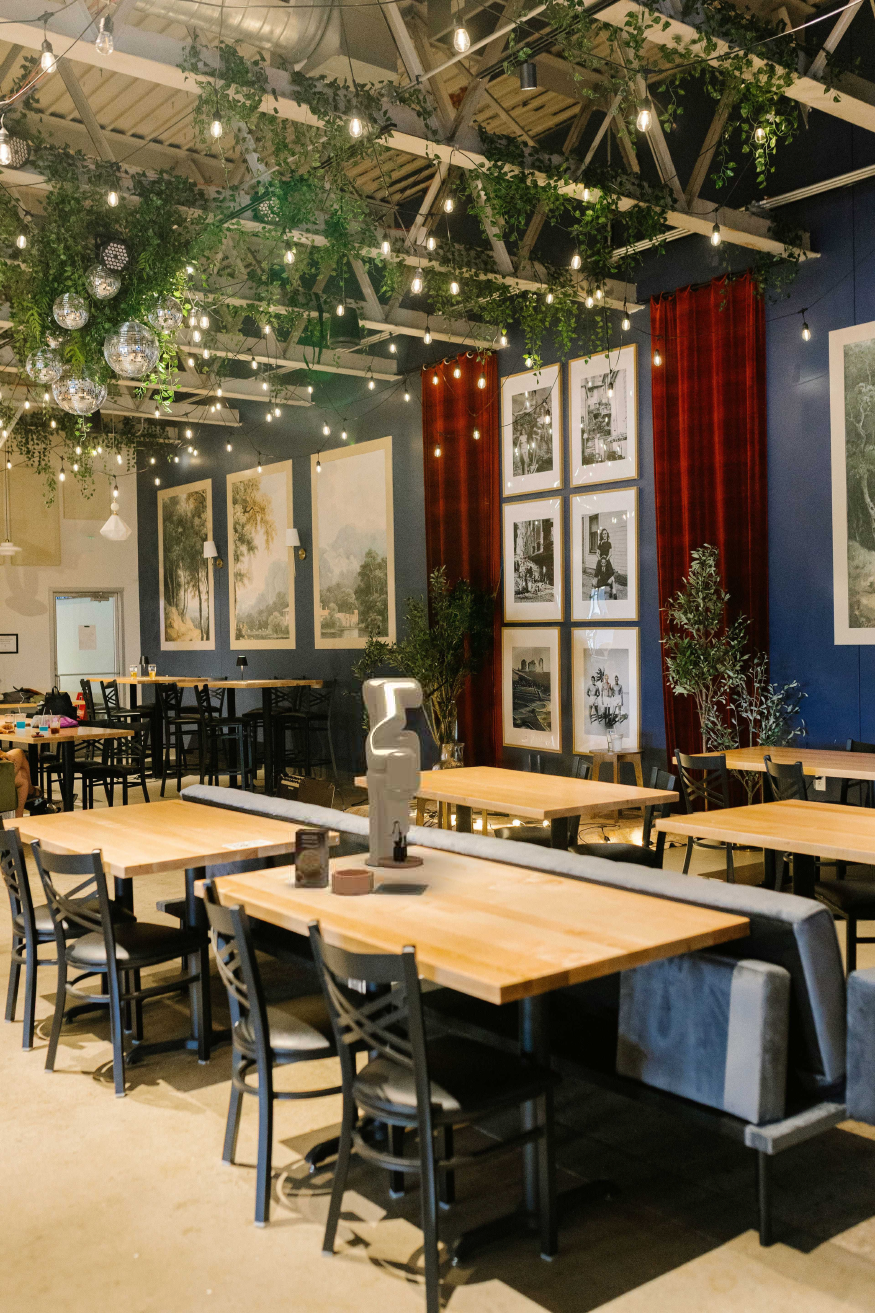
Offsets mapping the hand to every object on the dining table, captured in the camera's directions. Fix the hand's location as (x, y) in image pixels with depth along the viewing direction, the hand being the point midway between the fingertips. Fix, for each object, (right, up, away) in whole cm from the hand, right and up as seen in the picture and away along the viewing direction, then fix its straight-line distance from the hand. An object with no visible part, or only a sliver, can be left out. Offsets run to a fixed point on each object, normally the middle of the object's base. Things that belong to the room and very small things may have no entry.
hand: (400, 859), depth 301 cm
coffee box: (-26, -9, +7) cm, 28 cm away
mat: (0, -9, -1) cm, 9 cm away
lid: (0, -1, 0) cm, 1 cm away
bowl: (-13, -9, -3) cm, 16 cm away
